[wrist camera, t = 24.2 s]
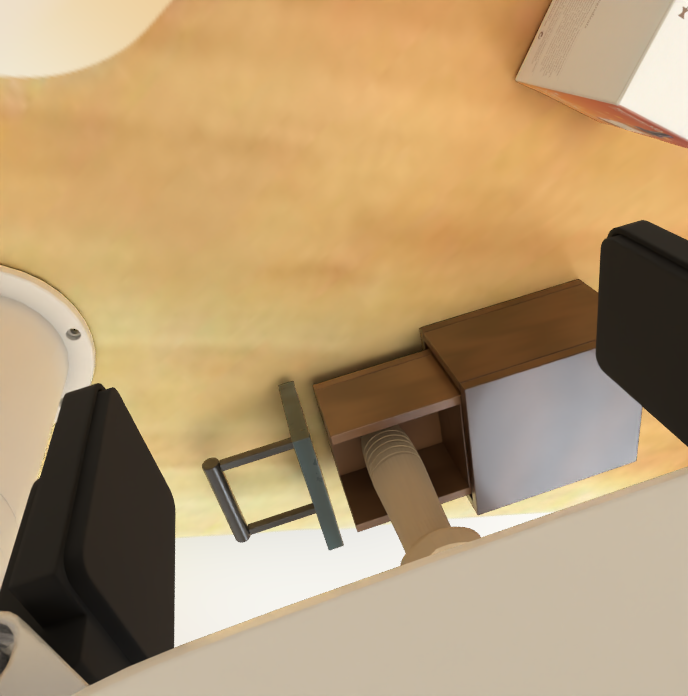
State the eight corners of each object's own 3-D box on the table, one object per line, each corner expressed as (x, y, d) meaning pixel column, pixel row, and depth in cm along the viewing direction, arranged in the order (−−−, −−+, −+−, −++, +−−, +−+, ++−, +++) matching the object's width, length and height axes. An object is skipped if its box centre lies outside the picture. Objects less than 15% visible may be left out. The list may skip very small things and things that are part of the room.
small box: (511, 80, 37) (613, 105, 28) (556, -15, 35) (682, -20, 26) (602, 125, 40) (719, 161, 31) (649, 40, 38) (790, 53, 29)
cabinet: (436, 444, 52) (477, 515, 45) (419, 327, 45) (464, 390, 38) (575, 399, 53) (636, 461, 46) (578, 278, 46) (651, 330, 39)
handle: (337, 454, 47) (394, 618, 35) (356, 389, 44) (426, 542, 32) (392, 456, 49) (465, 614, 36) (414, 393, 46) (502, 541, 33)
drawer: (237, 512, 49) (245, 579, 44) (192, 411, 43) (194, 474, 37) (447, 443, 51) (481, 499, 45) (433, 337, 45) (470, 386, 39)
